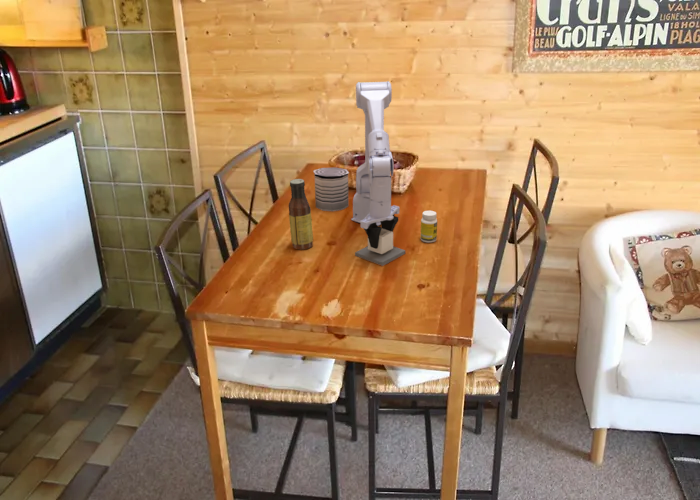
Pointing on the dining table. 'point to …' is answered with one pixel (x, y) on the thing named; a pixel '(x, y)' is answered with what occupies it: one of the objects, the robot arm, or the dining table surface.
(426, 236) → the supplement bottle
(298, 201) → the sauce bottle
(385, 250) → the box
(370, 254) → the base plate
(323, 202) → the can
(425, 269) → the dining table surface
